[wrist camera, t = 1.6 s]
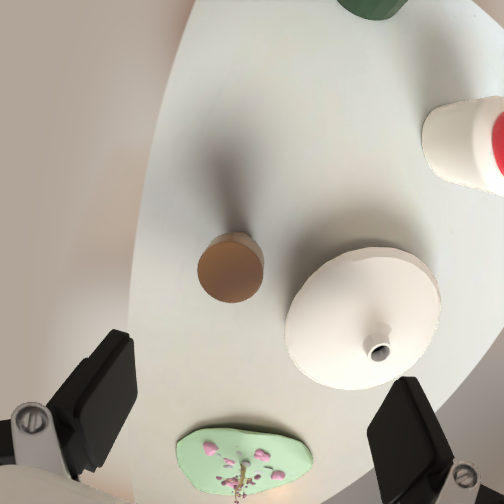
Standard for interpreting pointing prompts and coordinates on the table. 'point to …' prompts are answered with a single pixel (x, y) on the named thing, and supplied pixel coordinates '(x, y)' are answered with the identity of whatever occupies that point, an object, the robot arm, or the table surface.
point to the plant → (241, 460)
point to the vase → (363, 318)
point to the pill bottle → (467, 143)
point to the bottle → (373, 8)
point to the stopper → (231, 267)
